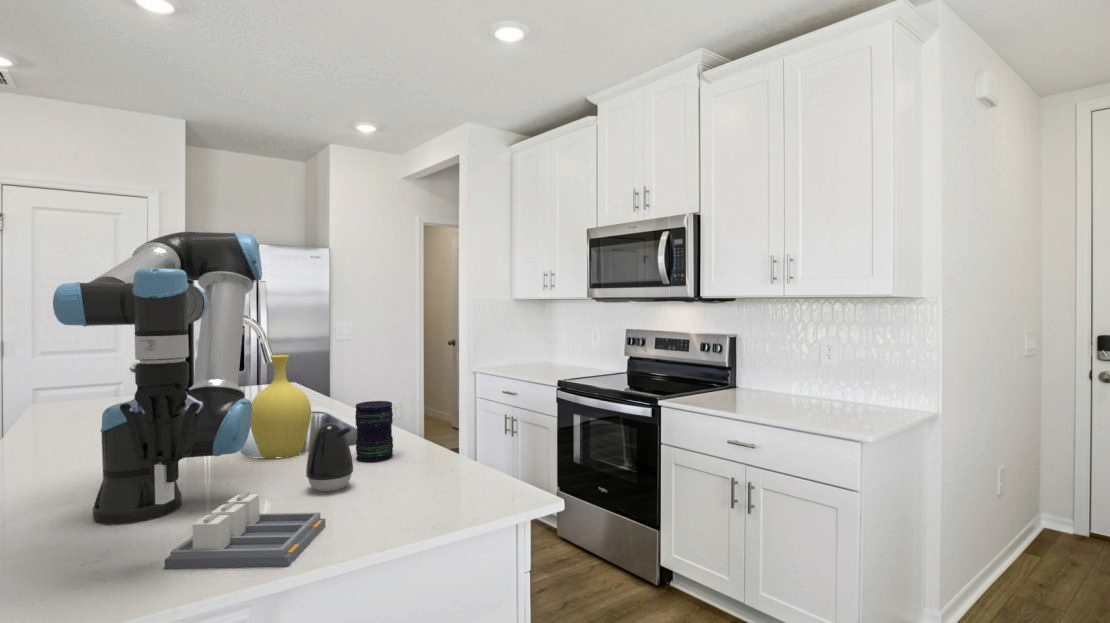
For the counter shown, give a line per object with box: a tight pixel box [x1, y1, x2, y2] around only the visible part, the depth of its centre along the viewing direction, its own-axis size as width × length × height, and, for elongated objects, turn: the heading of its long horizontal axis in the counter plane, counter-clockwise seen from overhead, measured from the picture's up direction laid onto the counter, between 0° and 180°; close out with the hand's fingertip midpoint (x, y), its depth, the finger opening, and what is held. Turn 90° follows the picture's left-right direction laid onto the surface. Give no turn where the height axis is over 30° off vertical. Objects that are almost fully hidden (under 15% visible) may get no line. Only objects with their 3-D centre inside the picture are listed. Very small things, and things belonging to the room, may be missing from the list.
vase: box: [250, 354, 312, 459], centre depth 168 cm, size 16×16×28 cm
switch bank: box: [163, 512, 326, 569], centre depth 106 cm, size 20×17×3 cm
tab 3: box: [226, 491, 261, 524], centre depth 111 cm, size 4×4×6 cm
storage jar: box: [354, 400, 394, 464], centre depth 163 cm, size 10×10×15 cm
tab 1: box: [191, 513, 230, 550], centre depth 100 cm, size 4×4×6 cm
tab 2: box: [210, 502, 246, 536], centre depth 105 cm, size 4×4×6 cm
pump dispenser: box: [305, 422, 354, 493], centre depth 137 cm, size 10×10×15 cm
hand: (164, 501), depth 99 cm, fingers closed
